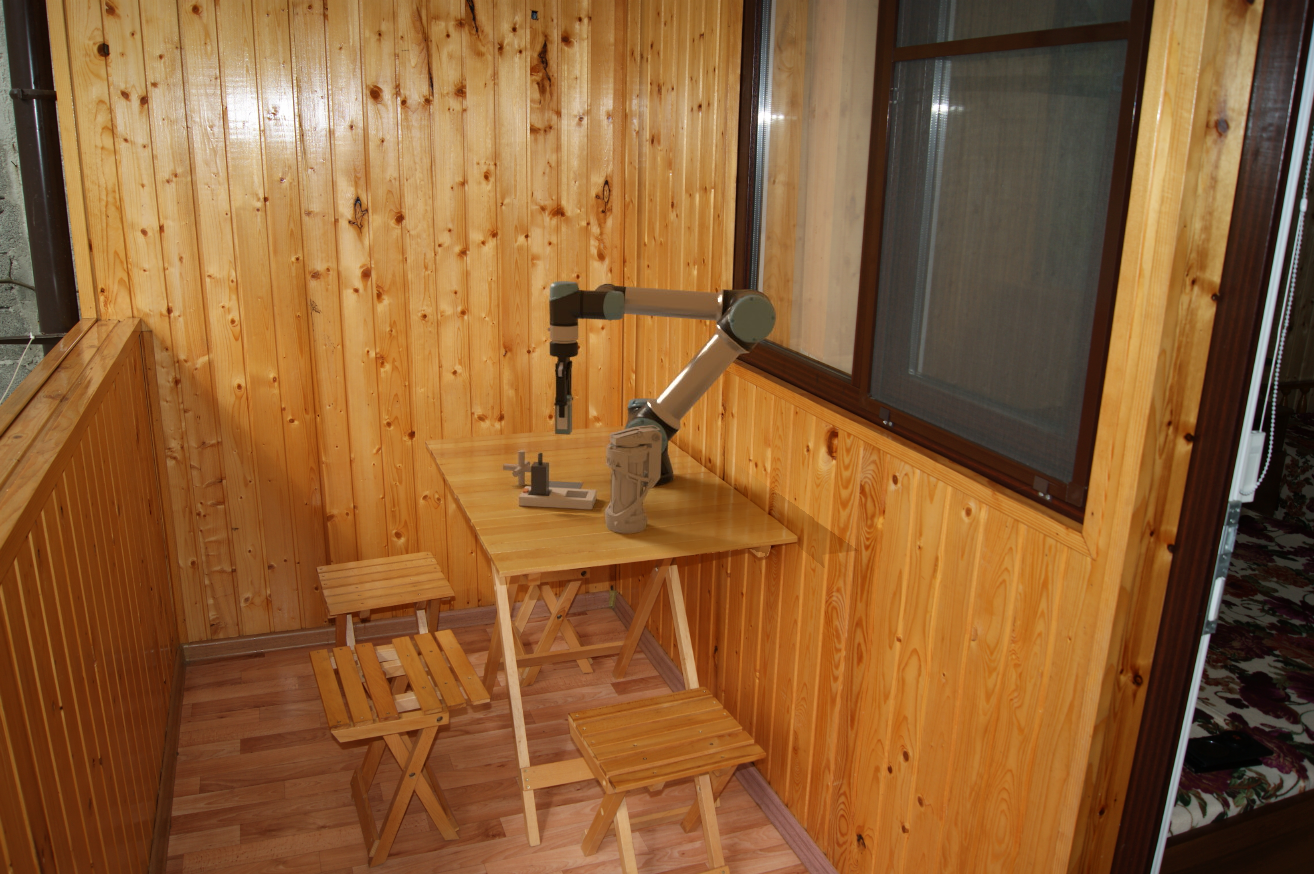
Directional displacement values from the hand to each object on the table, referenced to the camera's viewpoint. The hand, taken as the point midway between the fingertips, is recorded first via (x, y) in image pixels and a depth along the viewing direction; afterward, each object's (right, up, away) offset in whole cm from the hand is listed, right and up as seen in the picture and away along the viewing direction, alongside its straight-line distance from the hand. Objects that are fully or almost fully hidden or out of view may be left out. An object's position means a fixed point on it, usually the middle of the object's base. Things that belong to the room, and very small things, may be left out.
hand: (563, 426), depth 280 cm
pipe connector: (-12, -17, +6) cm, 21 cm away
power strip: (-1, -20, -8) cm, 22 cm away
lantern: (+19, -25, -23) cm, 39 cm away
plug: (0, -2, 0) cm, 2 cm away
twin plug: (-6, -20, -8) cm, 22 cm away
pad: (-1, -17, +5) cm, 18 cm away
